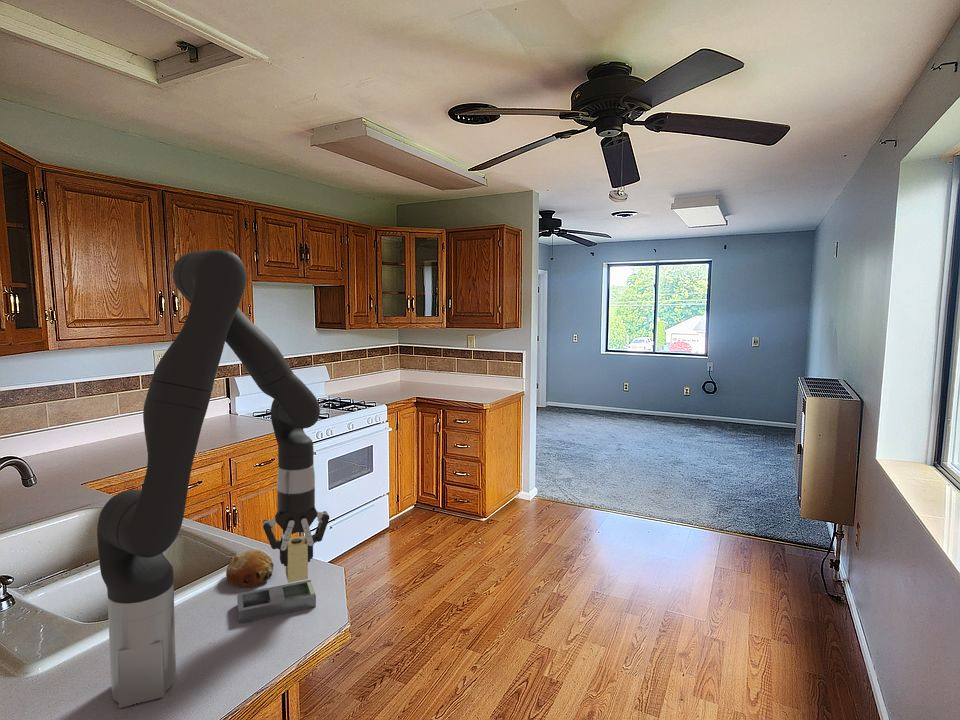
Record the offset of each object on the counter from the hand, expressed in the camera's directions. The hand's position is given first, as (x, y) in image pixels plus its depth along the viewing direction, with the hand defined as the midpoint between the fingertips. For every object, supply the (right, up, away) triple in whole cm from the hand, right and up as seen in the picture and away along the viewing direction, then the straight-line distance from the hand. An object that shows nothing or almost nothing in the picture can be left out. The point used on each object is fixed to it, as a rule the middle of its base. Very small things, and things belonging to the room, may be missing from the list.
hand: (296, 562), depth 116 cm
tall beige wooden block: (0, -3, 0) cm, 3 cm away
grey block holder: (-4, -9, -1) cm, 10 cm away
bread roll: (-14, -8, +10) cm, 19 cm away
